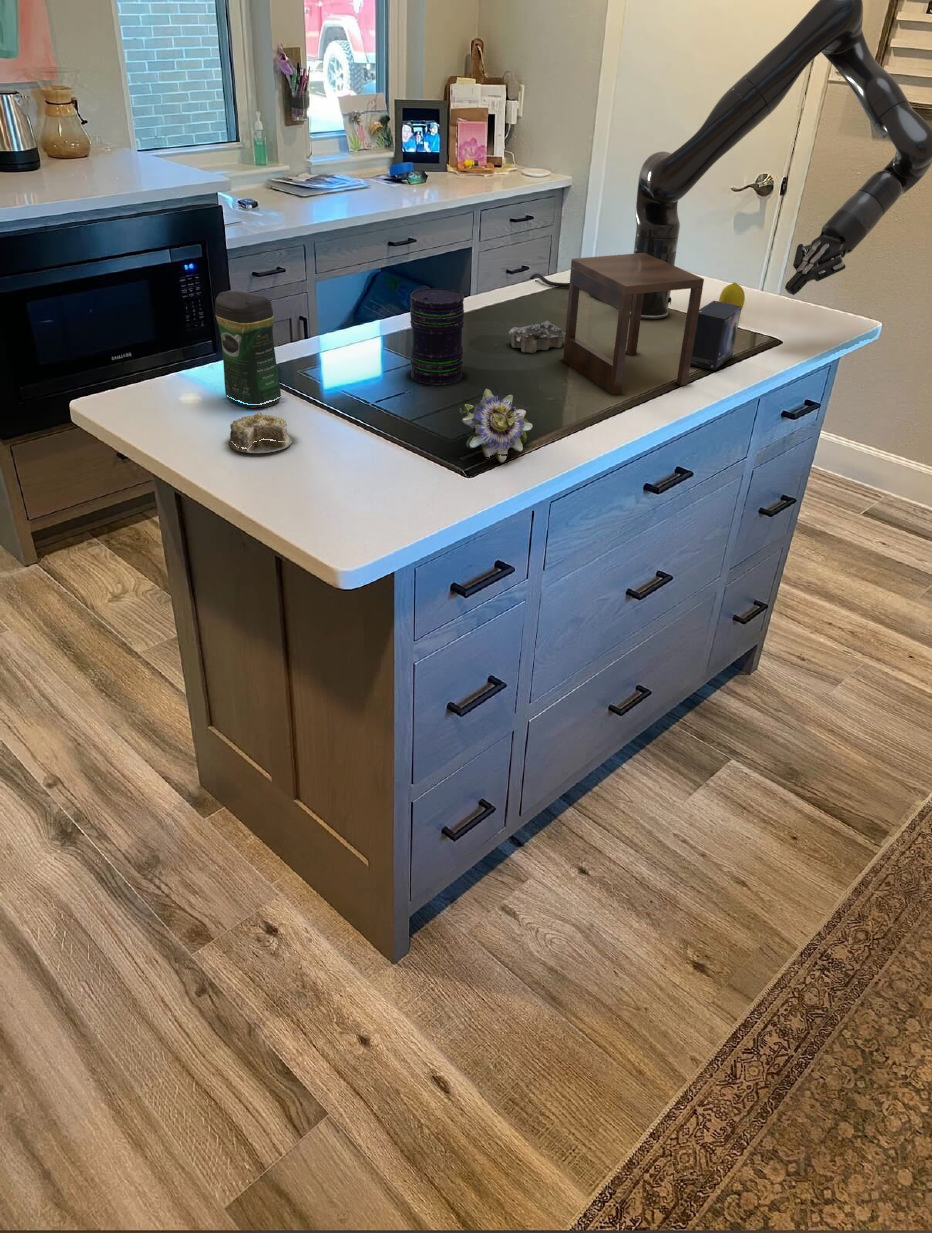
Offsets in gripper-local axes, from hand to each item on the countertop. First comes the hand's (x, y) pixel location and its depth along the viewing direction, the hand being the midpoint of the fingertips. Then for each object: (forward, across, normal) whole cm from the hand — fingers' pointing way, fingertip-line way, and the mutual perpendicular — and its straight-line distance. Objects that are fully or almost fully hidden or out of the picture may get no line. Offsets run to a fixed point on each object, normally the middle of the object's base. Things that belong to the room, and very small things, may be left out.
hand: (788, 291), depth 188 cm
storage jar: (+59, +10, +42) cm, 73 cm away
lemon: (+6, +23, -12) cm, 27 cm away
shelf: (+34, 0, +17) cm, 38 cm away
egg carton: (+41, +20, +23) cm, 51 cm away
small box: (+20, 0, +3) cm, 21 cm away
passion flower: (+62, -25, +44) cm, 80 cm away
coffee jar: (+84, +9, +66) cm, 108 cm away
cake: (+86, -10, +69) cm, 111 cm away
